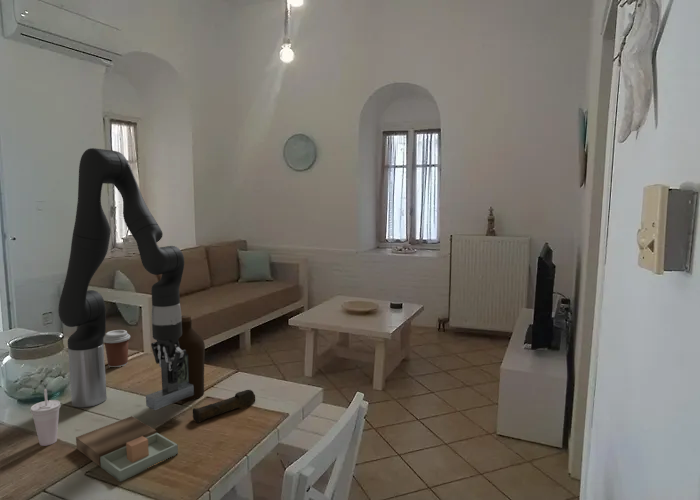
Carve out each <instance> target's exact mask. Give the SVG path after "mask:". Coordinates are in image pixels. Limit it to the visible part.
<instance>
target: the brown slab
mask: <svg viewBox="0 0 700 500" xmlns="http://www.w3.org/2000/svg"><path fill="white" fill-rule="evenodd" d="M155 433H157V430H156V429H155V428H154V427H152V426H150V425H148V424H147V423H144V422H142V421H140V419H137V418H136V417H135V416H132V415H131V416H129V417H126V418H123V419H120V420H118V421H115V422H113V423H109V424H107V425H104V426H102V427H99V428H97V429H95V430H91V431H89V432H86V433H83V434H80V435H78V436H75V443H76V450H77V451H79V452H80V453H81V454H83V455H84V456H86V457H87V458H88V459H89V460H91V461H92V462H94V463H95V464H96V465H97V466H98V467H101V462H100V457H101V456H104V455H106V454H108V453H111V452H113V451H115V450H118V449H120V448H122V447H125V446H126V443H127V442H129V441H132V440H134V439H137V438H139V437H141V436H143V437H145V438H146V437H148V436H151V435H153V434H155Z"/></svg>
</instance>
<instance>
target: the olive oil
mask: <svg viewBox="0 0 700 500" xmlns="http://www.w3.org/2000/svg"><path fill="white" fill-rule="evenodd" d="M181 317H182V336H181V337H180V338H179V339H178V341H179V345H180V347H179V348H180V349H181V350H186V355H185V359H184V363H183V367H182V368H180V369H178V370H177V373H178V384H180V383H183V382H188V383H190V384H192V385H193V386H194V395H193V396H190V397H188V398H185V399H182V400H180V401H181V402H187V401H189V402H190V401H194V400H196V399H199V398H202V396H203V395H204V394H205V354H206V352H205V351H206V348H205V347H206V346H205V341H204V338H203V337H202V336H201V334H199V332H197V331H196V330H195V329H194V328H193V326H192V325H193V324H192V315H189V314H184V315H183V314H182V315H181ZM178 364H179V363H178ZM180 401H179V402H180Z"/></svg>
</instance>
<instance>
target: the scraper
mask: <svg viewBox="0 0 700 500" xmlns="http://www.w3.org/2000/svg"><path fill="white" fill-rule="evenodd" d="M172 358H174V357H172ZM169 359H171V358H169ZM172 366H173V362H172ZM160 368H161V369H160V370H161V371H160V373H161V375H160V376H161V389H160V390H158V391H155V392H152V393H149V394H147V395H145V403H146V404H145V405H146V407H147V408H149V409H151V410H153V411H157V410H160V409H161V408H165V407H166V406H169V405H172V404H174V403H177V402H180V400H182V399H185V398H188V397H190V396H193V395H194V386H193V385H192V384H190V383H188V382H183V383H180V384H178V381H177V382H176V383H173V384H170V383H169V369H168V363H166V360H165V358H164V359H161V367H160ZM177 374H178V373H177Z"/></svg>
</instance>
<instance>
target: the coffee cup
mask: <svg viewBox="0 0 700 500" xmlns="http://www.w3.org/2000/svg"><path fill="white" fill-rule="evenodd" d="M130 339H131V334H129V333H128V331H127V330H125V329H116V330H110V331H109V330H108V331H107V332H105V336H104V338H103V343H104V349H105V354H106V359H107V360H106V361H107V367H108V366H109V367H108V368H110V367H119V368H121V367H120V366H123V367H125V366H127V365H128V364H129V363H128V361H129V360H128V359H129V340H130ZM127 363H128V364H127ZM126 364H127V365H126ZM124 365H125V366H124Z"/></svg>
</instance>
